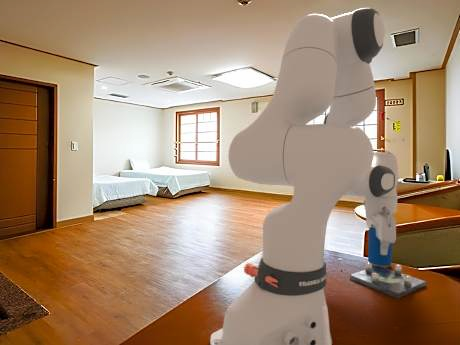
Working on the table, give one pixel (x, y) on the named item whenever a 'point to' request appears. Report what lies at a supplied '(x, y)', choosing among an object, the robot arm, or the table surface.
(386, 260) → the beverage can
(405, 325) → the table surface
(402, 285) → the plate
